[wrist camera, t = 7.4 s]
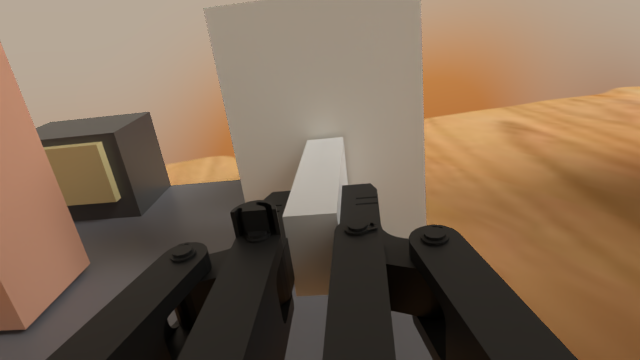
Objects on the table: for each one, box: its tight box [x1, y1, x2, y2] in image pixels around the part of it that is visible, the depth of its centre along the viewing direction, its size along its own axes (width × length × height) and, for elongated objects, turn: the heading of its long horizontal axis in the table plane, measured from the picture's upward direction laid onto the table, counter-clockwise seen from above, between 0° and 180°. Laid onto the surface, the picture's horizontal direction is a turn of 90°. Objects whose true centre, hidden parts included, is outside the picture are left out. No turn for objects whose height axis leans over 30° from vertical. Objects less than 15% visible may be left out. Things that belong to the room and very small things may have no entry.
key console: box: [0, 112, 433, 360], centre depth 23 cm, size 18×27×7 cm
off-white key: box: [204, 0, 426, 239], centre depth 20 cm, size 5×8×12 cm, turn 86°
